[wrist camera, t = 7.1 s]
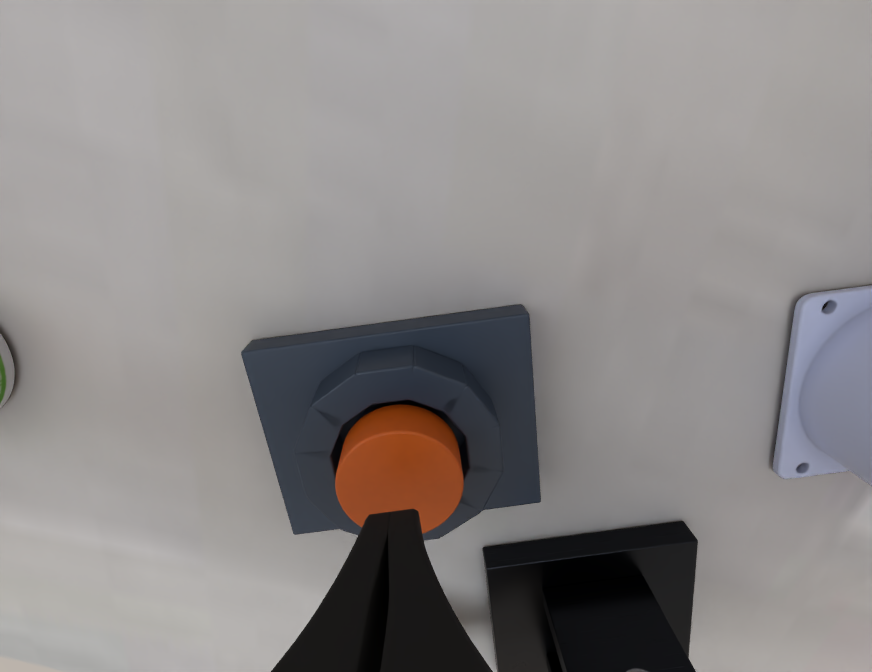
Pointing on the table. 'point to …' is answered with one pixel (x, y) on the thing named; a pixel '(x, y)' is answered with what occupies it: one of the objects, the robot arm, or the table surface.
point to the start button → (400, 466)
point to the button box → (400, 384)
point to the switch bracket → (594, 601)
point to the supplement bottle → (5, 372)
